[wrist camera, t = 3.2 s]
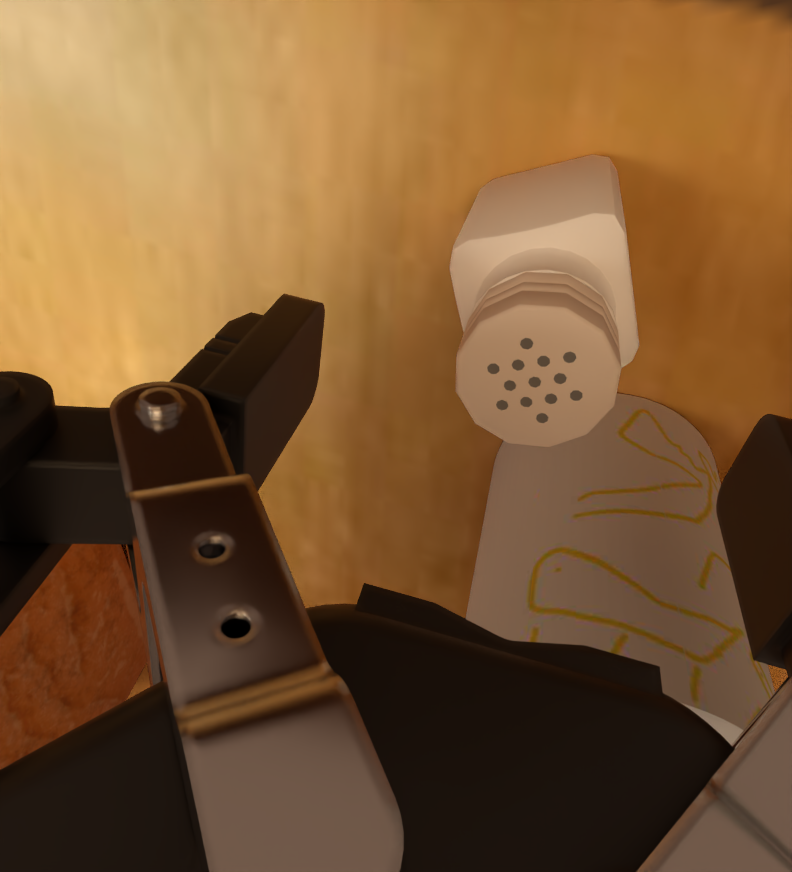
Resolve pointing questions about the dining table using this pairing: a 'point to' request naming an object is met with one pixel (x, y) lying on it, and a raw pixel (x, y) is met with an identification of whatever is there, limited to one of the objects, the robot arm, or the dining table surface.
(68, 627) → the bread
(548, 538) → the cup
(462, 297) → the salt shaker
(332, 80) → the dining table surface
